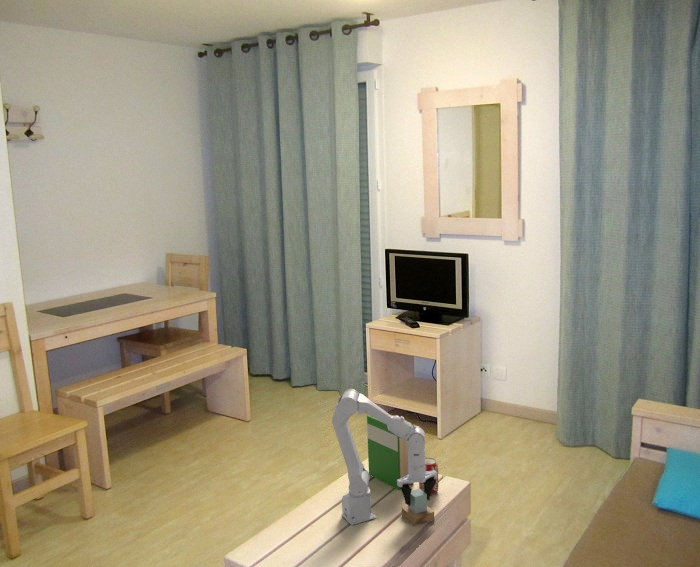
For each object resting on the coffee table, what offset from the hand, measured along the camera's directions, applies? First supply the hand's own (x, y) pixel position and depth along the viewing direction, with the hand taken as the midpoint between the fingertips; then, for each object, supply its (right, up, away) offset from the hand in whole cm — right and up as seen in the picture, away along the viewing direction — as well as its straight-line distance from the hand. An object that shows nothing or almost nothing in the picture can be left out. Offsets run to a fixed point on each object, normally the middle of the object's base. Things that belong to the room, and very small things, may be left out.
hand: (417, 501), depth 233 cm
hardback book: (-7, -1, +31) cm, 32 cm away
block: (0, -6, +1) cm, 6 cm away
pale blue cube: (0, -3, +1) cm, 3 cm away
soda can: (+6, -3, +20) cm, 21 cm away
